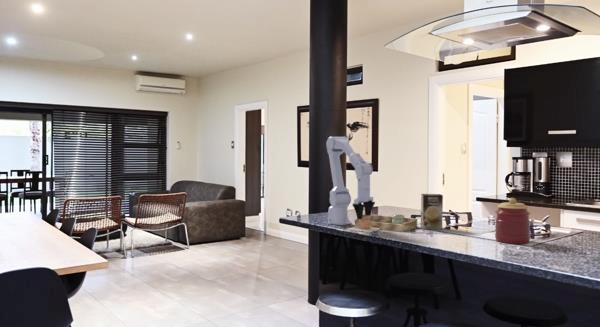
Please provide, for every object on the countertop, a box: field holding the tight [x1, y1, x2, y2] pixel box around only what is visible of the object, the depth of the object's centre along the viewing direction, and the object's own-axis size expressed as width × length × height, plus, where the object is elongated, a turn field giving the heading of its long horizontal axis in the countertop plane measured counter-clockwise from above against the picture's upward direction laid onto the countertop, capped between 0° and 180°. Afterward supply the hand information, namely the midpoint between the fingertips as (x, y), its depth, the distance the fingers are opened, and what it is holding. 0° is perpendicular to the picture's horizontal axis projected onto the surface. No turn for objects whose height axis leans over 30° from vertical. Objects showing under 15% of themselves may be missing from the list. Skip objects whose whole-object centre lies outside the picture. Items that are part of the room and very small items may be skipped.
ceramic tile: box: [347, 226, 381, 233], centre depth 216 cm, size 12×9×1 cm
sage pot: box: [391, 214, 405, 225], centre depth 220 cm, size 6×6×6 cm
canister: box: [494, 197, 531, 245], centre depth 188 cm, size 13×13×18 cm
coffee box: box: [420, 193, 444, 230], centre depth 219 cm, size 9×6×16 cm
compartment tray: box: [354, 214, 418, 232], centre depth 224 cm, size 25×15×4 cm, turn 52°
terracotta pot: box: [359, 213, 372, 229], centre depth 217 cm, size 6×6×6 cm
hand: (363, 217), depth 216 cm, fingers open, 7 cm apart
